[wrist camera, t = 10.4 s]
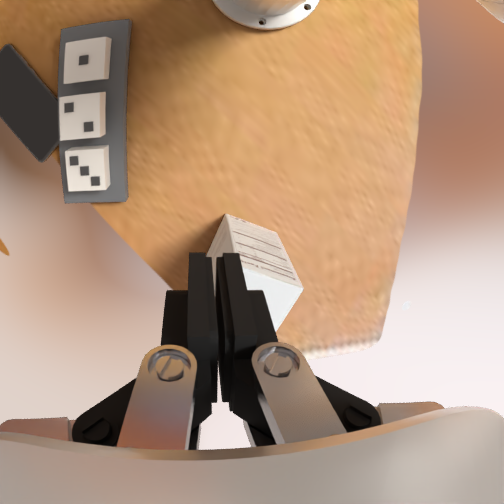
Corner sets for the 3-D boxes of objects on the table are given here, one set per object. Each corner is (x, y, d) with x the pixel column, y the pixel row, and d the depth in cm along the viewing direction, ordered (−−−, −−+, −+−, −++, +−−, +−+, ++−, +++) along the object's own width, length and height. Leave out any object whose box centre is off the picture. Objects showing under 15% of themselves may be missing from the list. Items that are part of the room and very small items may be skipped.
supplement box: (253, 276, 44) (271, 341, 33) (202, 259, 42) (205, 325, 31) (278, 231, 41) (306, 289, 30) (225, 210, 39) (236, 266, 28)
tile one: (72, 44, 24) (64, 42, 22) (111, 38, 25) (105, 36, 23) (70, 83, 27) (62, 84, 25) (108, 79, 27) (103, 78, 25)
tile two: (66, 96, 26) (58, 97, 24) (105, 91, 27) (99, 92, 25) (67, 137, 29) (59, 141, 27) (105, 134, 29) (99, 137, 27)
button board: (66, 30, 24) (61, 29, 23) (132, 21, 26) (129, 19, 24) (69, 199, 35) (64, 203, 33) (128, 197, 36) (125, 201, 35)
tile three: (71, 147, 30) (64, 151, 28) (108, 144, 31) (102, 148, 29) (74, 185, 32) (68, 192, 30) (110, 184, 33) (105, 190, 31)
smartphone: (41, 165, 31) (-26, 86, 23) (45, 163, 32) (-21, 85, 24) (78, 122, 30) (7, 40, 22) (81, 121, 31) (11, 41, 23)
